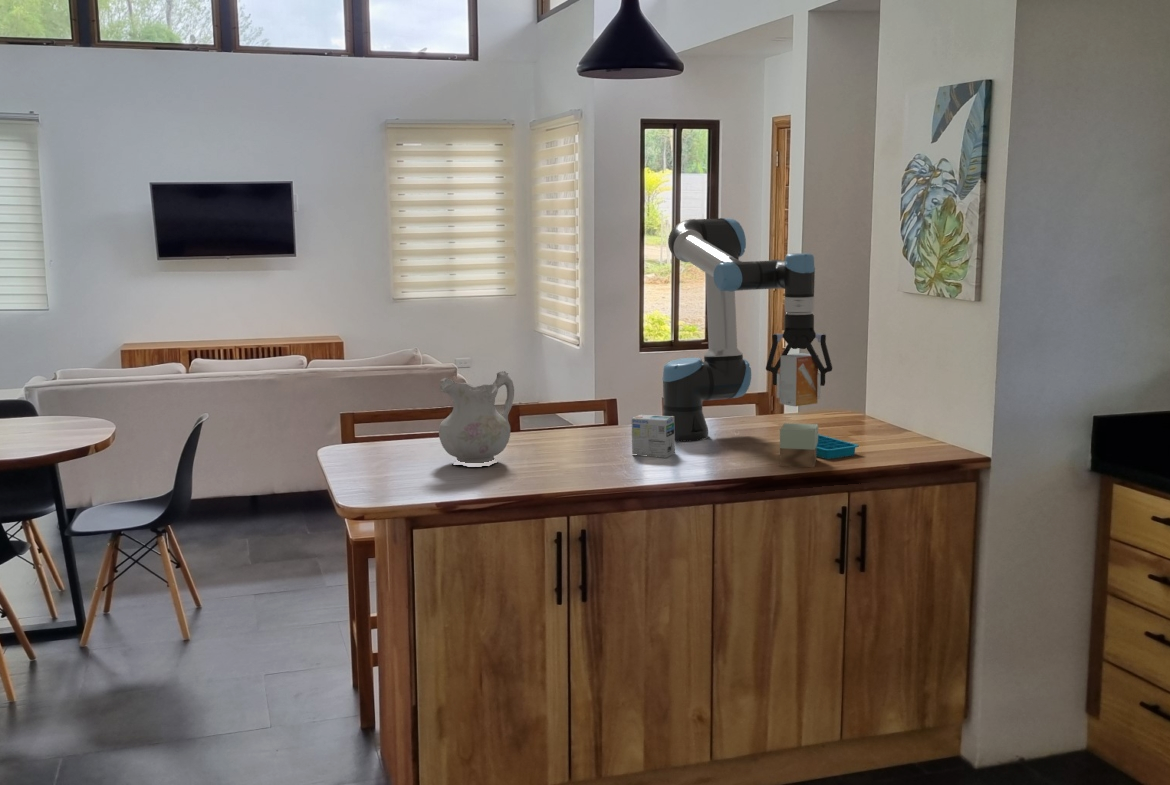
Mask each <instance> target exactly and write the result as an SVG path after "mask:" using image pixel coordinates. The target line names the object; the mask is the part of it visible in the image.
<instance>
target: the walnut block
mask: <svg viewBox="0 0 1170 785" xmlns="http://www.w3.org/2000/svg"><path fill="white" fill-rule="evenodd" d="M816 451H817V446H816V448H815V450H810V449H787V448H780V447H779V467H798V468H800V467H801V468H815V467H816V462H817V456H816Z"/></svg>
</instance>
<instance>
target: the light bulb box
mask: <svg viewBox="0 0 1170 785" xmlns="http://www.w3.org/2000/svg"><path fill="white" fill-rule="evenodd" d="M631 452H632V453H631V455H632V454H637V455H647V456H646V457H649V456H657V457H656V458H663V457H667V458H669V457H671V456H673V455H674V454H675V453H676V441H675V425H674V416H662V415H656V414H655V415H654V414H653V415H652V414H638V415H636V416H634V417H631Z"/></svg>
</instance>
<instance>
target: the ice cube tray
mask: <svg viewBox="0 0 1170 785" xmlns="http://www.w3.org/2000/svg"><path fill="white" fill-rule="evenodd" d="M858 447H860V445H859V444H857V443H853V442H849V441H845V440H841V439H839V438H838V439H837V438H833V437H831V436H830V437H829V436H826V435H822V434H819V433H818V444H817V451H816V457H819V458H822V459H825V460H827V459H828V460H829V459H830V460H831V458H832V459H837V458H844V456H845V457H849V456H850V457H852V456H855V453H856V448H858ZM851 455H852V456H851Z"/></svg>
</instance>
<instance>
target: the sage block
mask: <svg viewBox="0 0 1170 785" xmlns="http://www.w3.org/2000/svg"><path fill="white" fill-rule="evenodd" d="M818 434H819V424H817V423H816V424H815V423H814V424H813V423H794V422H793V423H791V422H789V423H788V422H784V423H783V425H782V426H781V427H780V428H779V449H780V448H787V449H810V450H815V448H816V446H817V444H818Z"/></svg>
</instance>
